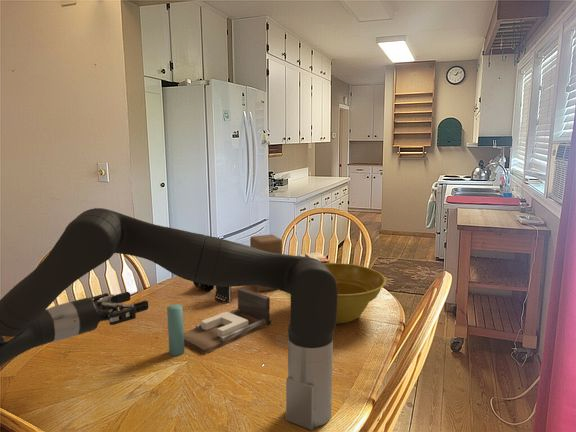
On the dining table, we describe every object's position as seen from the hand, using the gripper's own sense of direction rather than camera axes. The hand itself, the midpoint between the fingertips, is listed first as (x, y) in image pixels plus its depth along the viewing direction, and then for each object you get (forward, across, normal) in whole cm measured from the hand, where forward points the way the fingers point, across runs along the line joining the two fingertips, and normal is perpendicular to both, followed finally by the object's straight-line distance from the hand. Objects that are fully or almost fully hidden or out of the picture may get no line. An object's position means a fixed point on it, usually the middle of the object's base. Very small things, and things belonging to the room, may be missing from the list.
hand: (138, 300), depth 107 cm
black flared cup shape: (+49, +37, +18) cm, 64 cm away
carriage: (+27, 0, +16) cm, 32 cm away
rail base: (+28, 0, +18) cm, 33 cm away
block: (+65, +19, +18) cm, 70 cm away
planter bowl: (+60, -18, +17) cm, 65 cm away
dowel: (+10, 0, +18) cm, 21 cm away
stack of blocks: (+81, +8, +18) cm, 84 cm away
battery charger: (+43, +20, +18) cm, 51 cm away
